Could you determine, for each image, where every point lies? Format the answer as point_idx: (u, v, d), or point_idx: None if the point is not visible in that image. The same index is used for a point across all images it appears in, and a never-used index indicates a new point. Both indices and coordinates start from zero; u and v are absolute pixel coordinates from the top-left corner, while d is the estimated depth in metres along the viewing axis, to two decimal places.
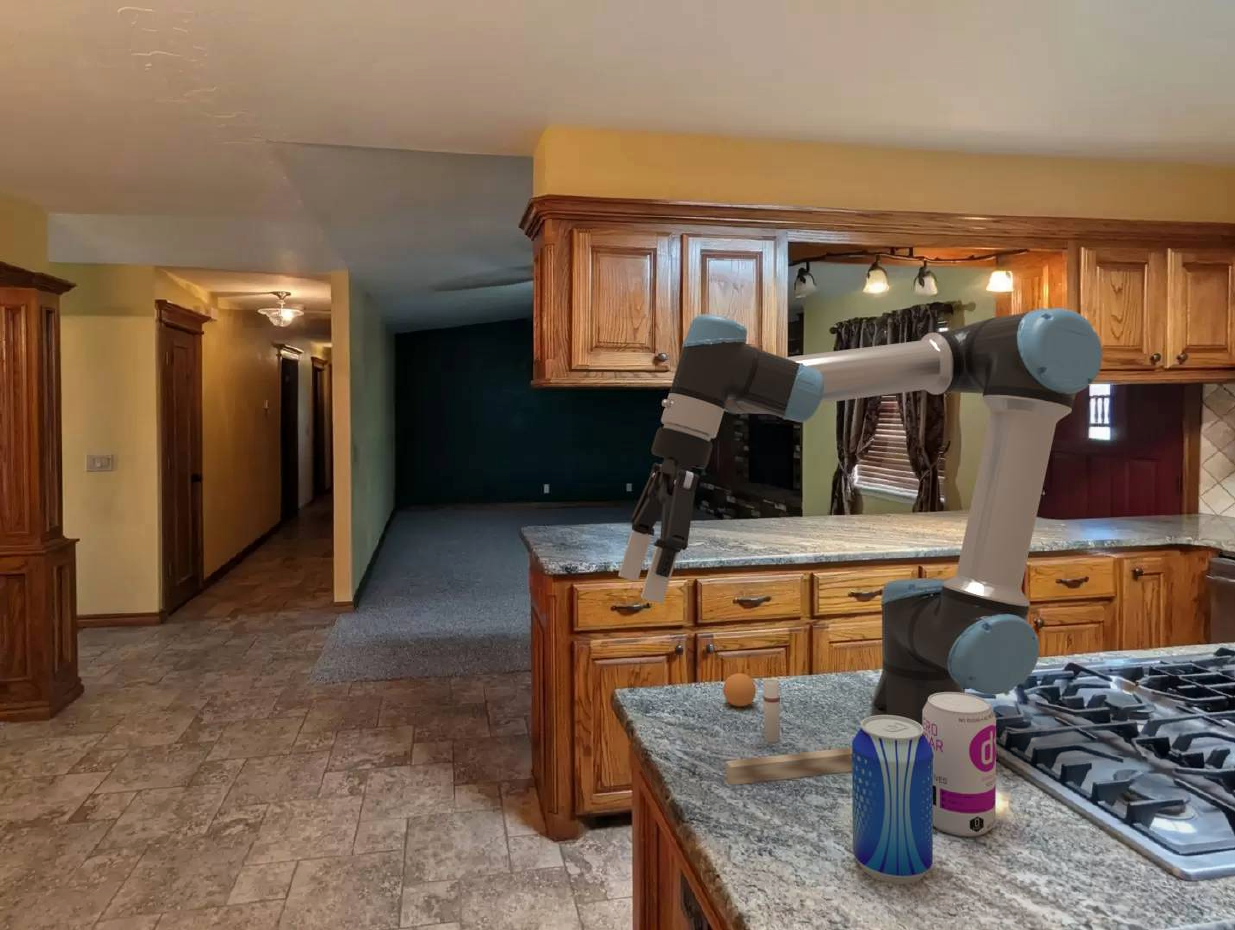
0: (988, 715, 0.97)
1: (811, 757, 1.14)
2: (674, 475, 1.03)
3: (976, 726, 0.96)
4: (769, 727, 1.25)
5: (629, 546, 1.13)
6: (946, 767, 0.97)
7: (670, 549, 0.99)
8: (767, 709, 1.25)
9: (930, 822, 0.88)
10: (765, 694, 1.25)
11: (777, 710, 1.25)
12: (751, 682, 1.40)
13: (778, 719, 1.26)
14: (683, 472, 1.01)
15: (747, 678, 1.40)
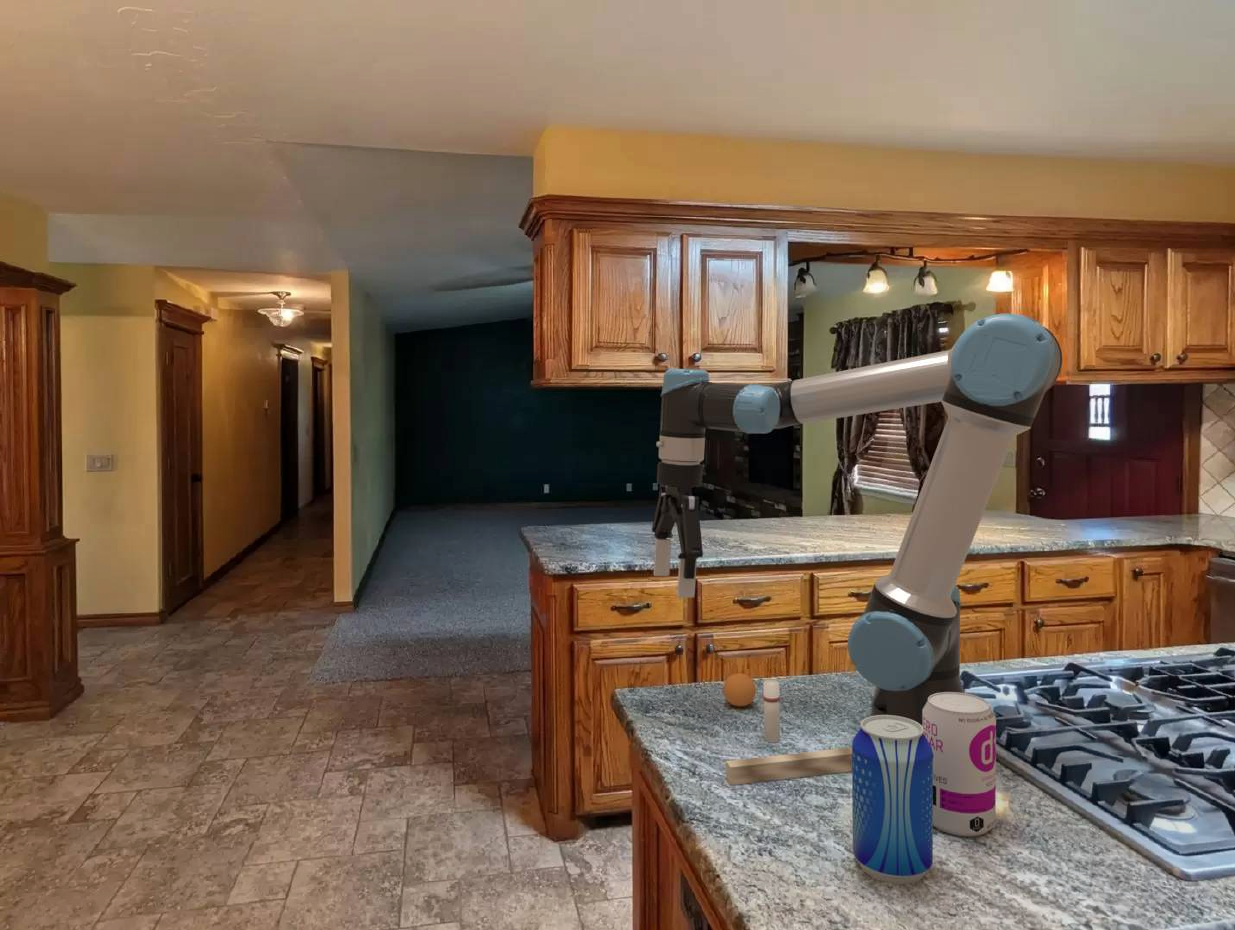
0: (988, 715, 0.97)
1: (811, 757, 1.14)
2: (679, 499, 1.34)
3: (976, 726, 0.96)
4: (769, 727, 1.25)
5: (656, 551, 1.45)
6: (946, 767, 0.97)
7: (691, 558, 1.31)
8: (767, 709, 1.25)
9: (930, 822, 0.88)
10: (765, 694, 1.25)
11: (777, 710, 1.25)
12: (751, 682, 1.40)
13: (778, 719, 1.26)
14: (686, 498, 1.31)
15: (747, 678, 1.40)
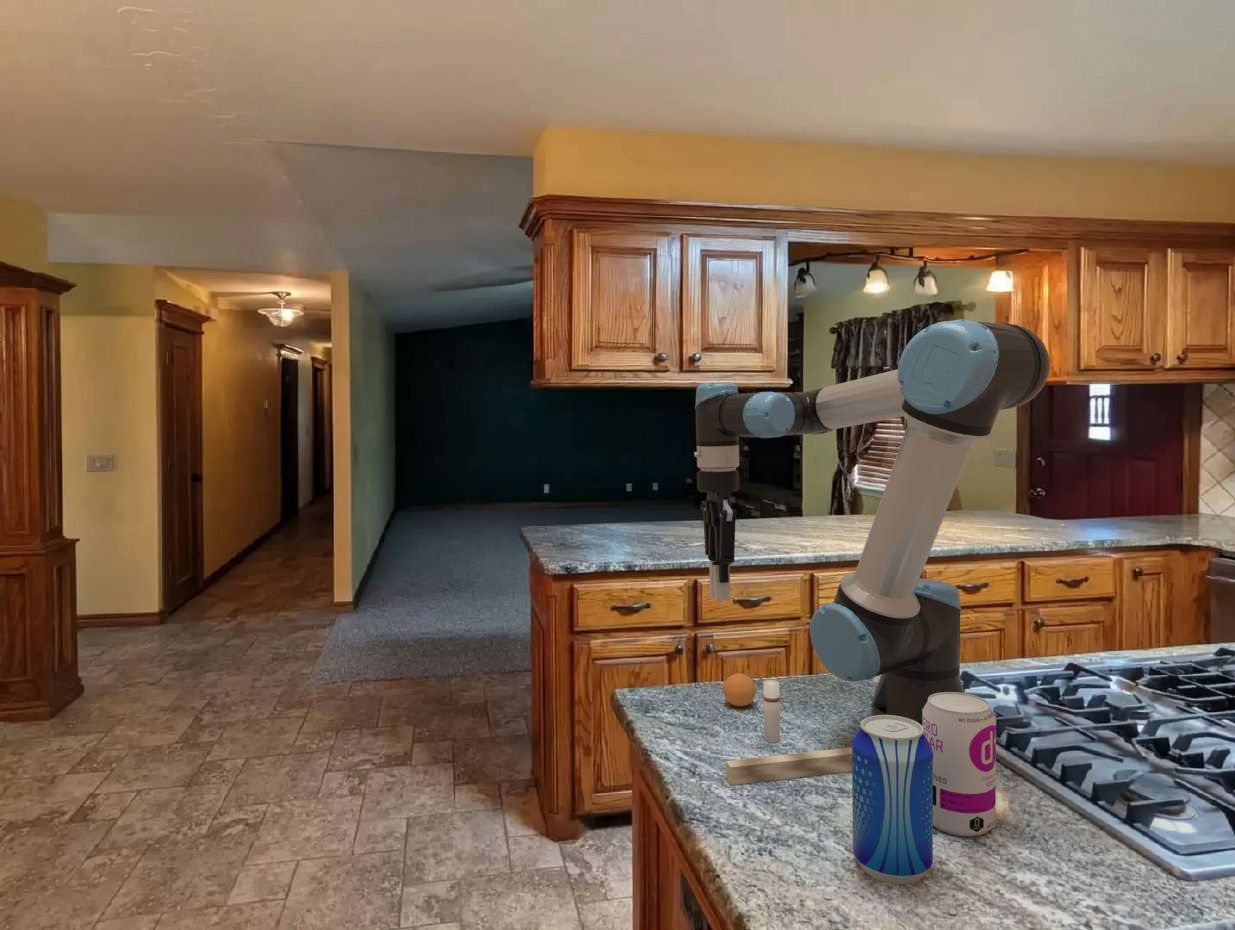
0: (988, 715, 0.97)
1: (811, 757, 1.14)
2: (719, 506, 1.45)
3: (976, 726, 0.96)
4: (769, 727, 1.25)
5: (711, 573, 1.50)
6: (946, 767, 0.97)
7: (724, 564, 1.46)
8: (767, 709, 1.25)
9: (930, 822, 0.88)
10: (765, 694, 1.25)
11: (777, 710, 1.25)
12: (751, 682, 1.40)
13: (778, 719, 1.26)
14: (725, 513, 1.42)
15: (747, 678, 1.40)
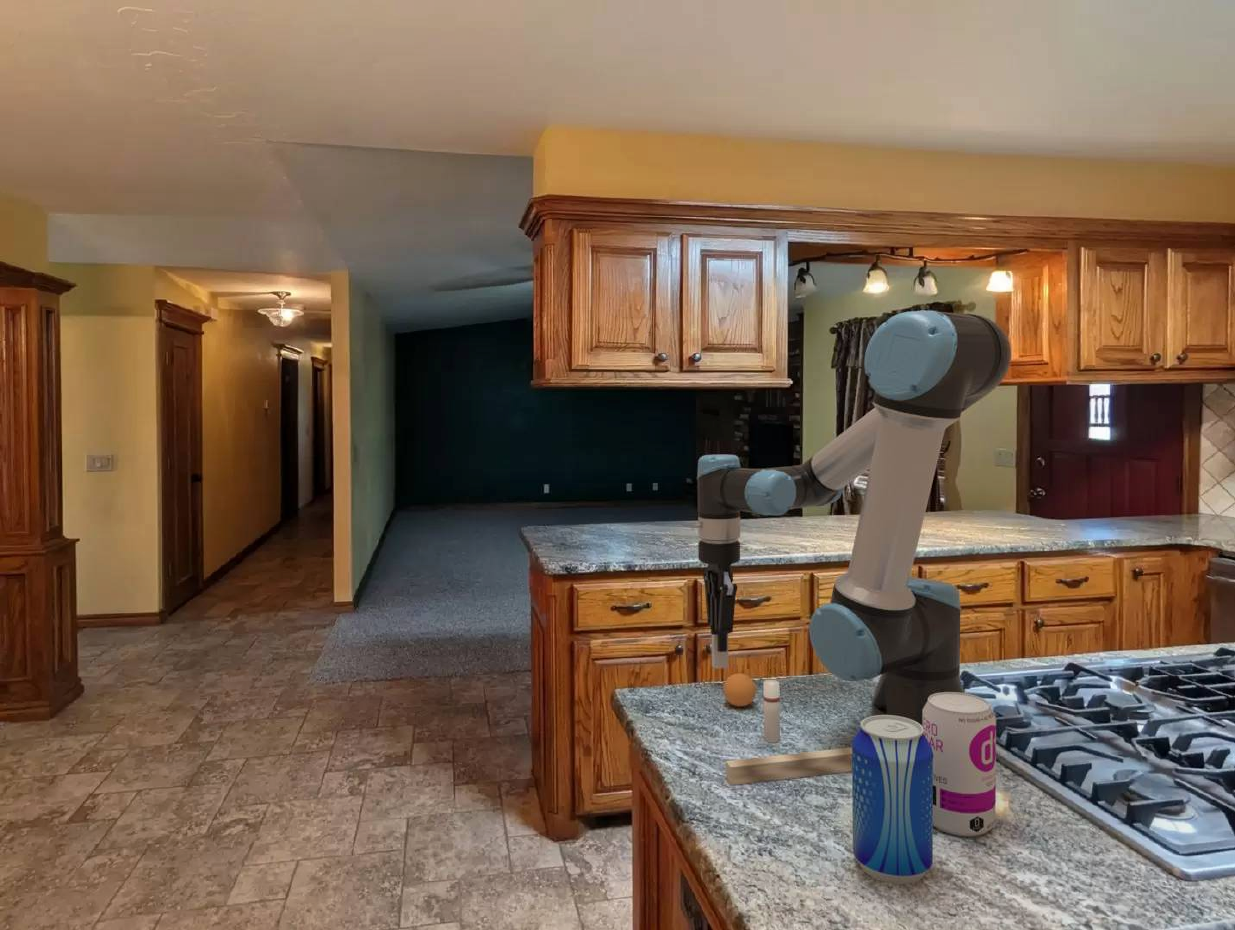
0: (988, 715, 0.97)
1: (811, 757, 1.14)
2: (720, 578, 1.46)
3: (976, 726, 0.96)
4: (769, 727, 1.25)
5: None
6: (946, 766, 0.97)
7: (722, 634, 1.48)
8: (767, 709, 1.25)
9: (930, 822, 0.88)
10: (765, 694, 1.25)
11: (777, 710, 1.25)
12: (751, 682, 1.40)
13: (778, 719, 1.26)
14: (725, 589, 1.44)
15: (747, 678, 1.40)
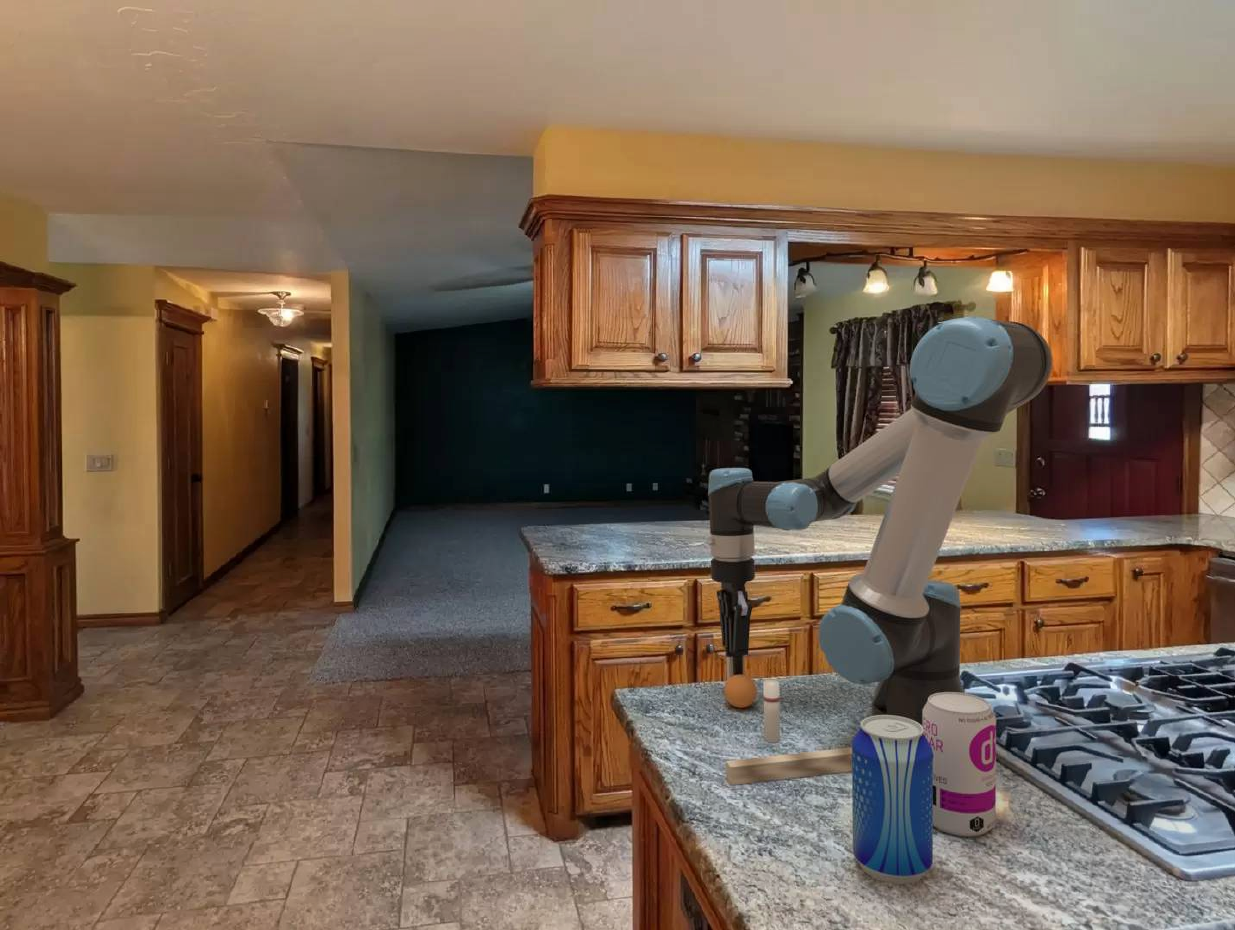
0: (988, 715, 0.97)
1: (811, 757, 1.14)
2: (734, 598, 1.39)
3: (976, 726, 0.96)
4: (769, 727, 1.25)
5: None
6: (946, 767, 0.97)
7: (738, 656, 1.41)
8: (767, 709, 1.25)
9: (930, 822, 0.88)
10: (765, 694, 1.25)
11: (777, 710, 1.25)
12: (752, 684, 1.39)
13: (778, 719, 1.26)
14: (740, 609, 1.37)
15: (748, 680, 1.39)
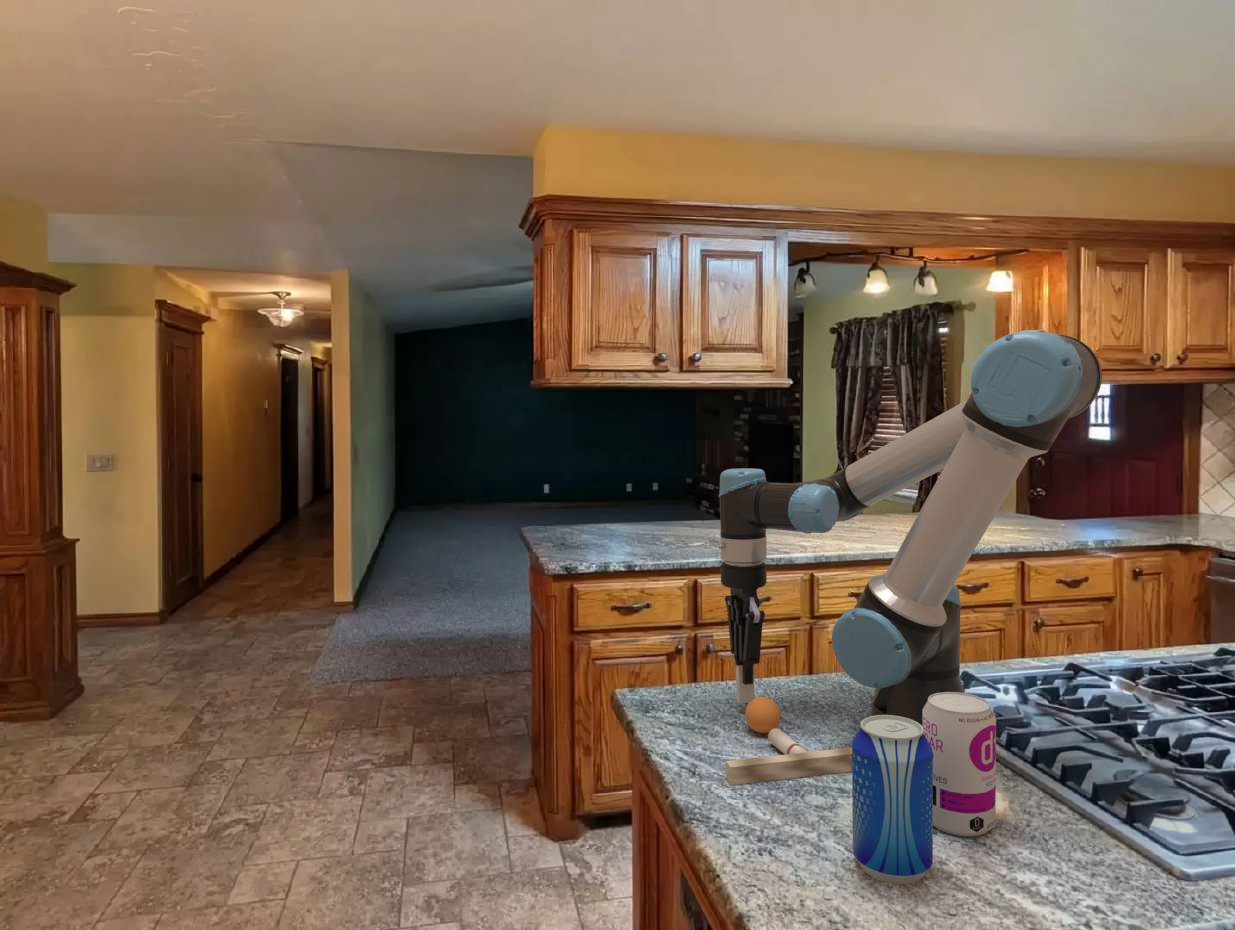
0: (988, 715, 0.97)
1: (811, 757, 1.14)
2: (745, 604, 1.33)
3: (976, 726, 0.96)
4: None
5: None
6: (946, 767, 0.97)
7: (748, 665, 1.36)
8: None
9: (930, 822, 0.88)
10: None
11: None
12: None
13: None
14: (752, 616, 1.31)
15: None
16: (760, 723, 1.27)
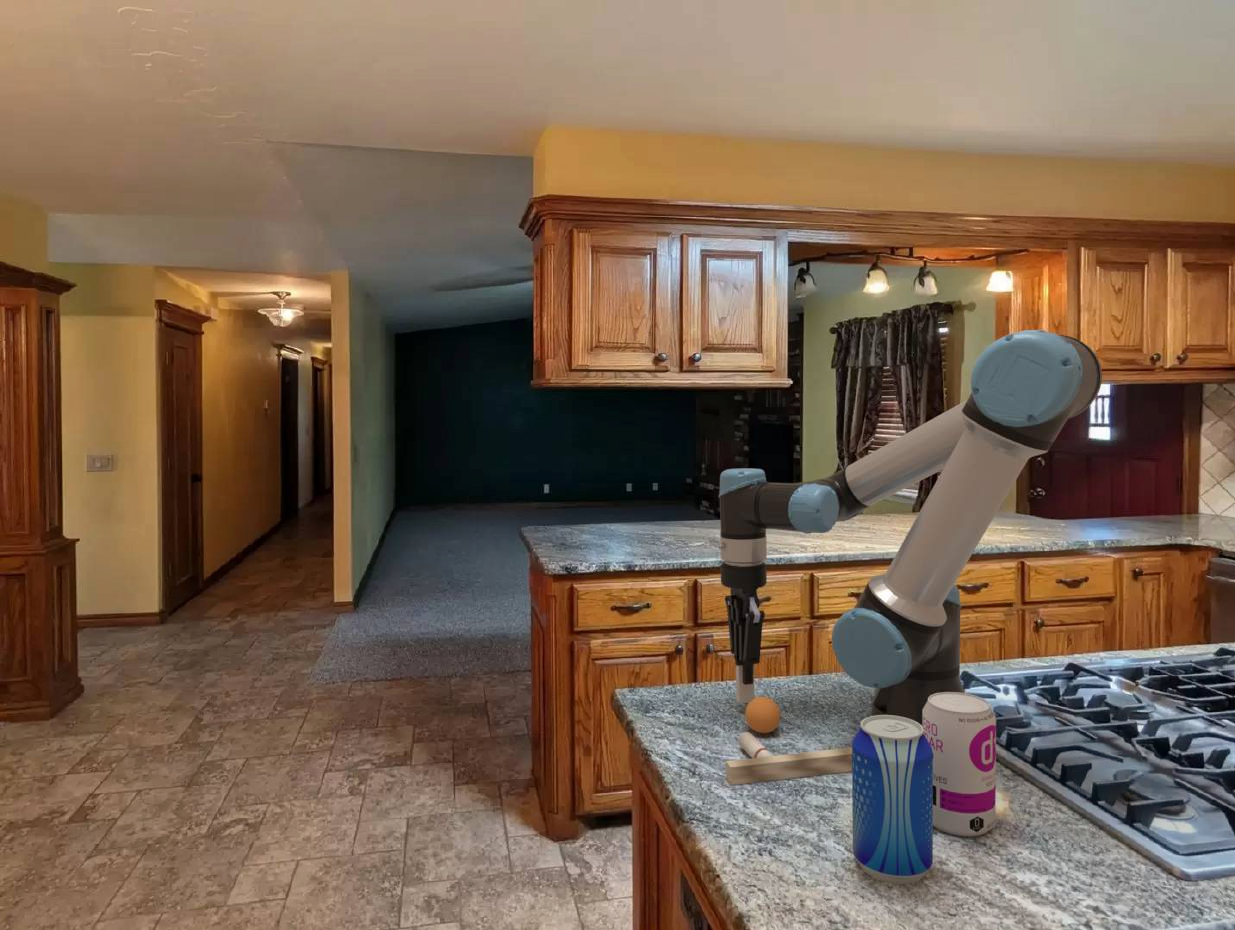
0: (988, 715, 0.97)
1: (811, 757, 1.14)
2: (745, 604, 1.33)
3: (976, 726, 0.96)
4: (749, 738, 1.21)
5: None
6: (946, 767, 0.97)
7: (748, 665, 1.36)
8: (758, 745, 1.19)
9: (930, 822, 0.88)
10: (767, 751, 1.17)
11: (750, 752, 1.19)
12: None
13: (747, 749, 1.20)
14: (752, 616, 1.31)
15: None
16: (760, 723, 1.27)
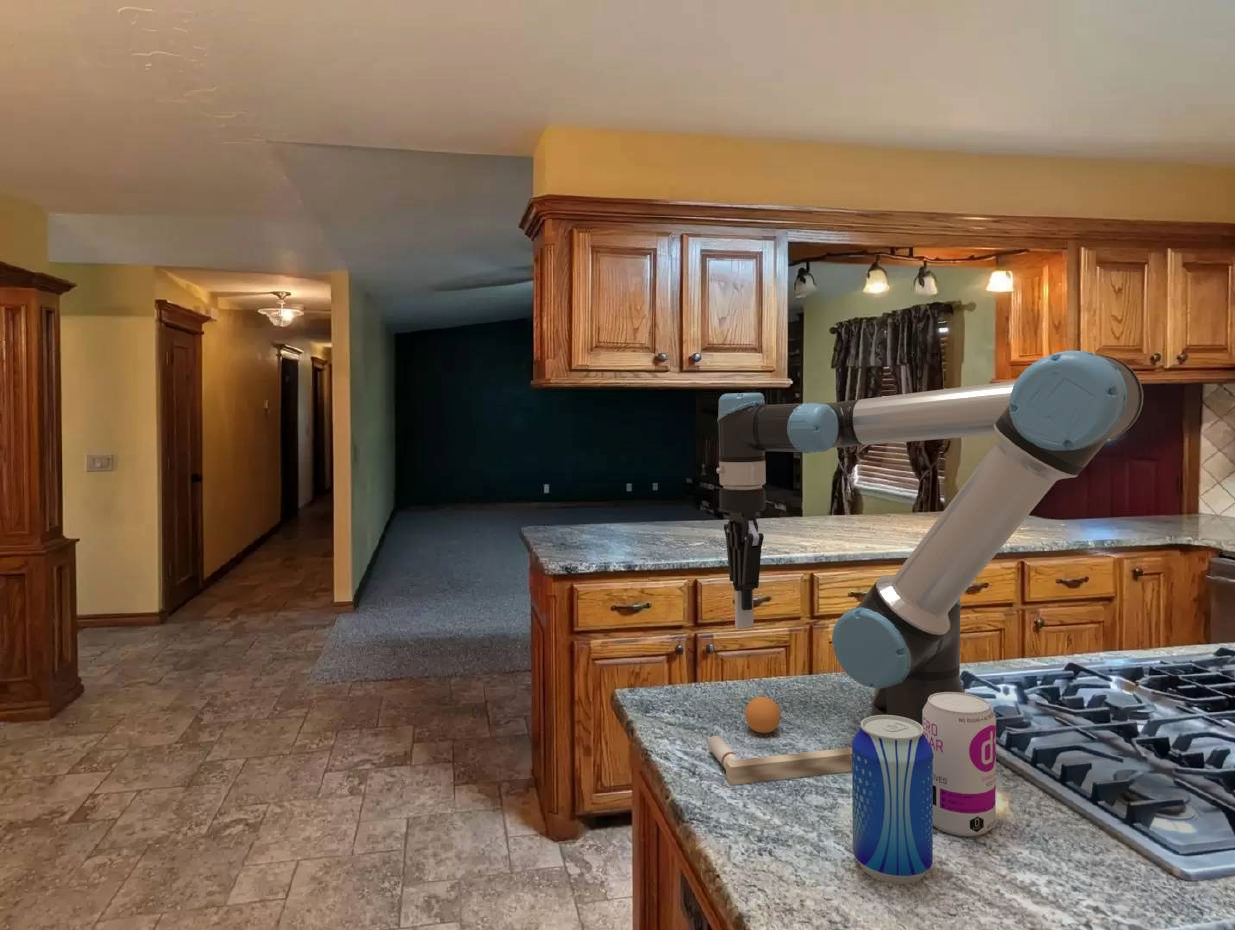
0: (988, 715, 0.97)
1: (811, 757, 1.14)
2: (744, 528, 1.32)
3: (976, 726, 0.96)
4: None
5: None
6: (946, 767, 0.97)
7: (747, 590, 1.35)
8: None
9: (930, 822, 0.88)
10: None
11: (732, 751, 1.18)
12: None
13: (728, 746, 1.20)
14: (751, 538, 1.30)
15: None
16: (760, 723, 1.27)
